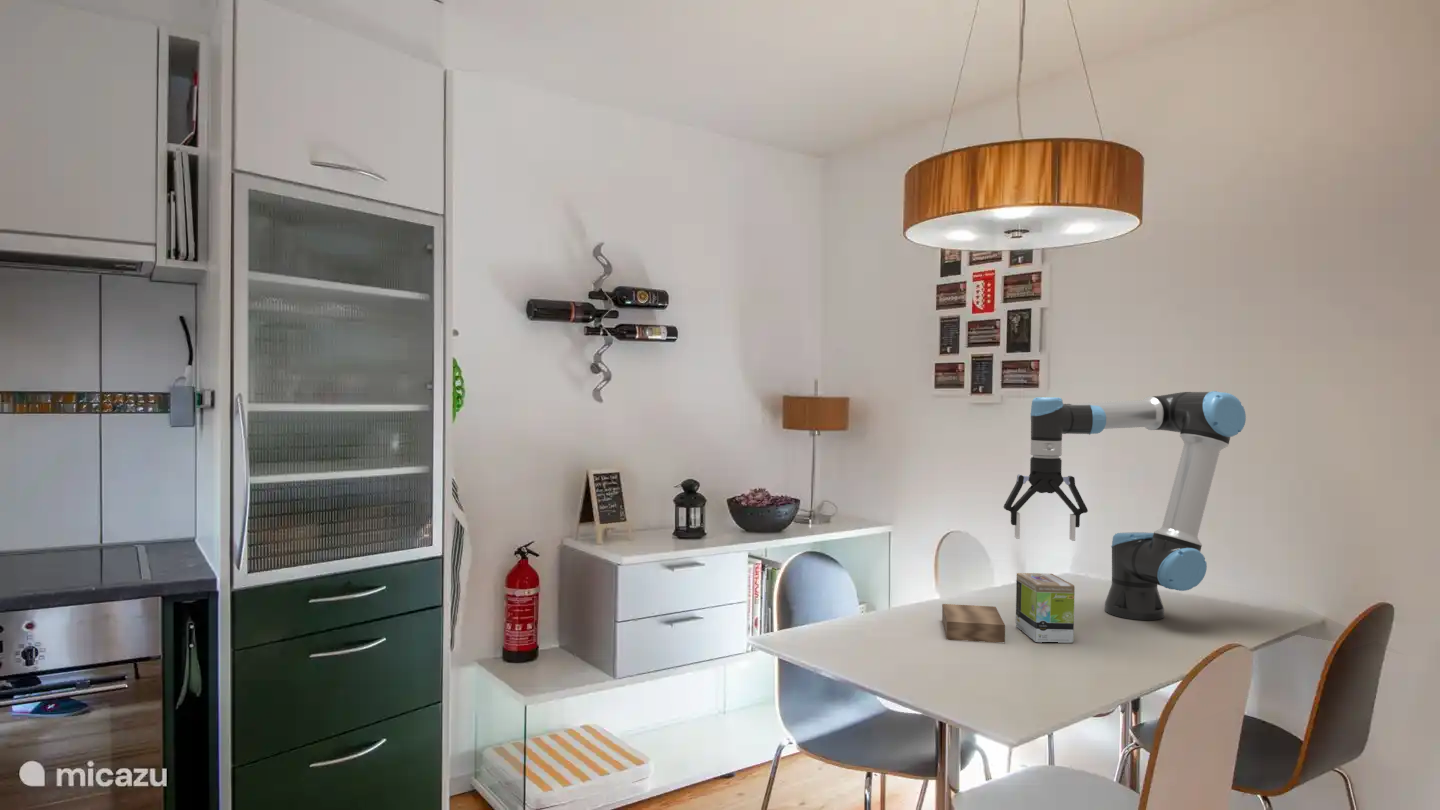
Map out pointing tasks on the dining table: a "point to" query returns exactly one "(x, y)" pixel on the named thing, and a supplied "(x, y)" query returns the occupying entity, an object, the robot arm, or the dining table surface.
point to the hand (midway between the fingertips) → (1044, 539)
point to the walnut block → (973, 623)
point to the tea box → (1045, 607)
